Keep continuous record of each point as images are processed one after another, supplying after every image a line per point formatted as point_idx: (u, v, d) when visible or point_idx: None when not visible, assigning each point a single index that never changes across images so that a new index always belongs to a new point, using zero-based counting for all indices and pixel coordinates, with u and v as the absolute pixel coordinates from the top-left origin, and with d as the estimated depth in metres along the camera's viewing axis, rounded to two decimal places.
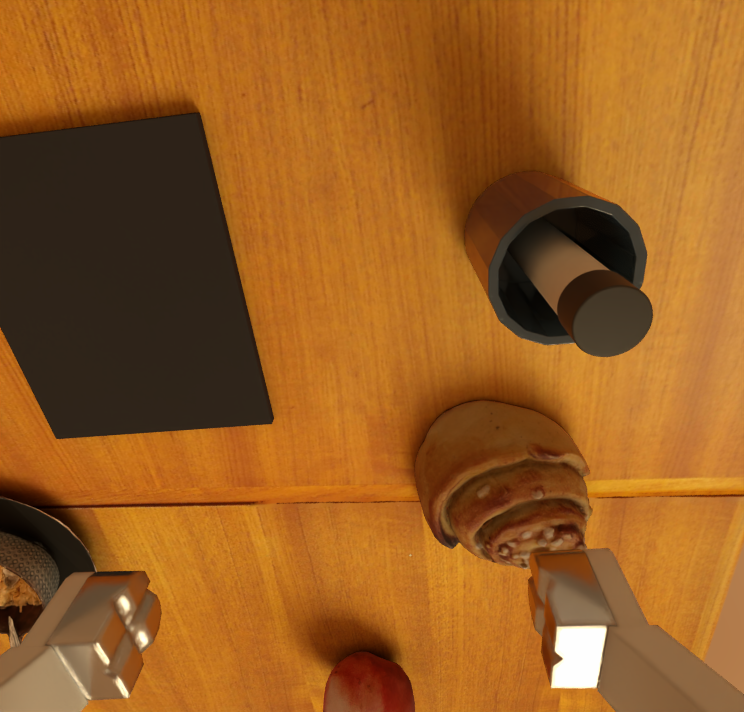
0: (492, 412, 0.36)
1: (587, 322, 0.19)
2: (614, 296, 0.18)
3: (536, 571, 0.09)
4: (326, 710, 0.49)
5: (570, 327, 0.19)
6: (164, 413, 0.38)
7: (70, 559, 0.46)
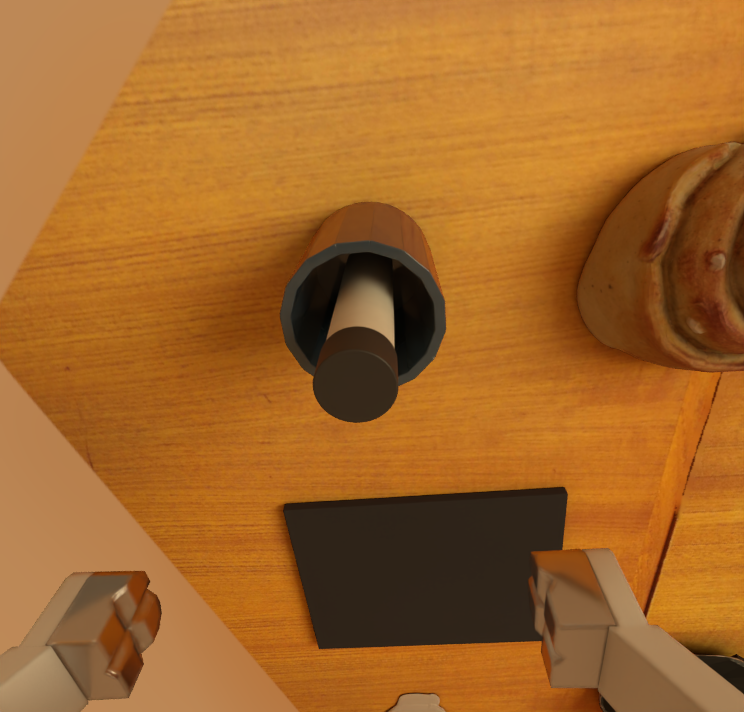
0: (591, 284, 0.29)
1: (355, 410, 0.18)
2: (324, 391, 0.17)
3: (536, 571, 0.09)
4: None
5: None
6: None
7: None
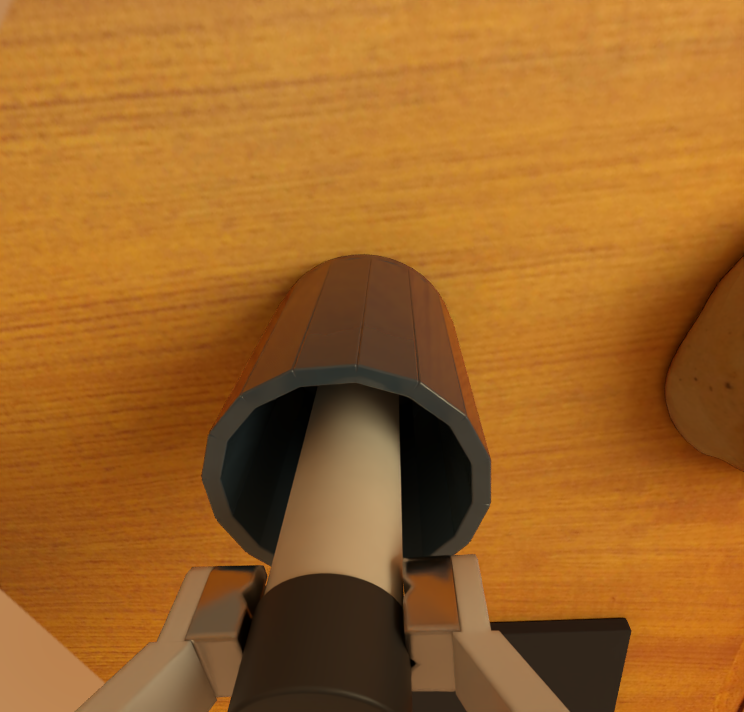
0: (694, 376, 0.19)
1: None
2: None
3: None
4: None
5: None
6: None
7: None
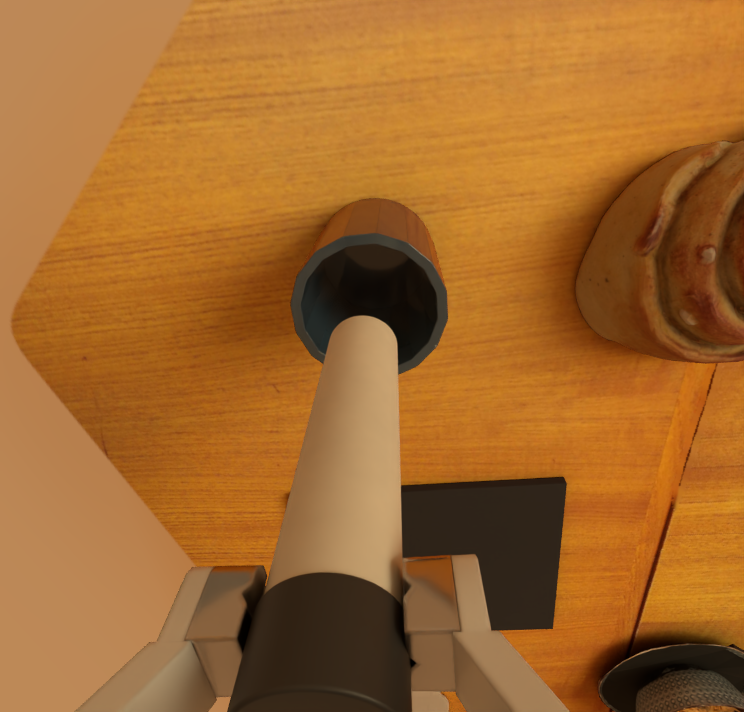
0: (589, 278, 0.30)
1: None
2: None
3: None
4: None
5: None
6: (539, 558, 0.42)
7: (695, 655, 0.47)
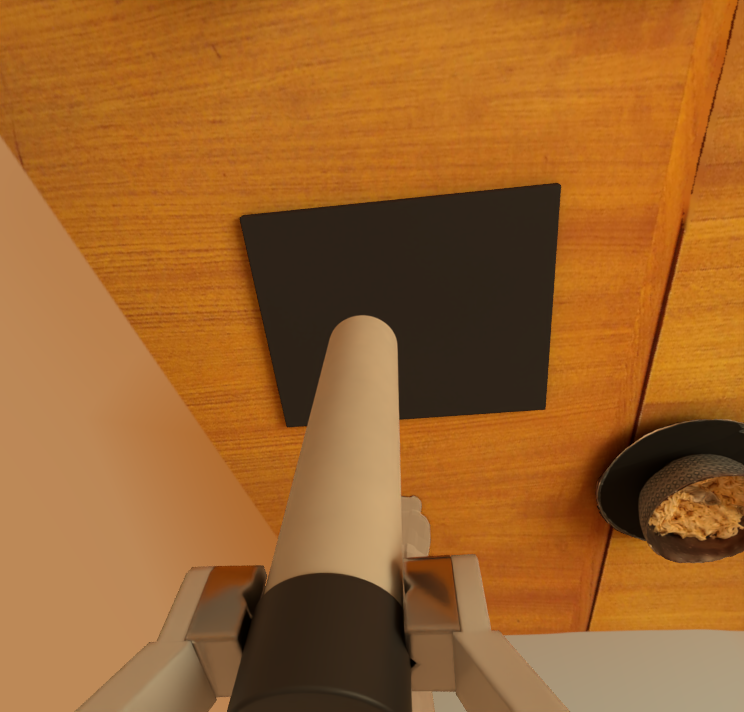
0: None
1: None
2: None
3: None
4: None
5: None
6: (529, 302, 0.36)
7: (706, 441, 0.41)
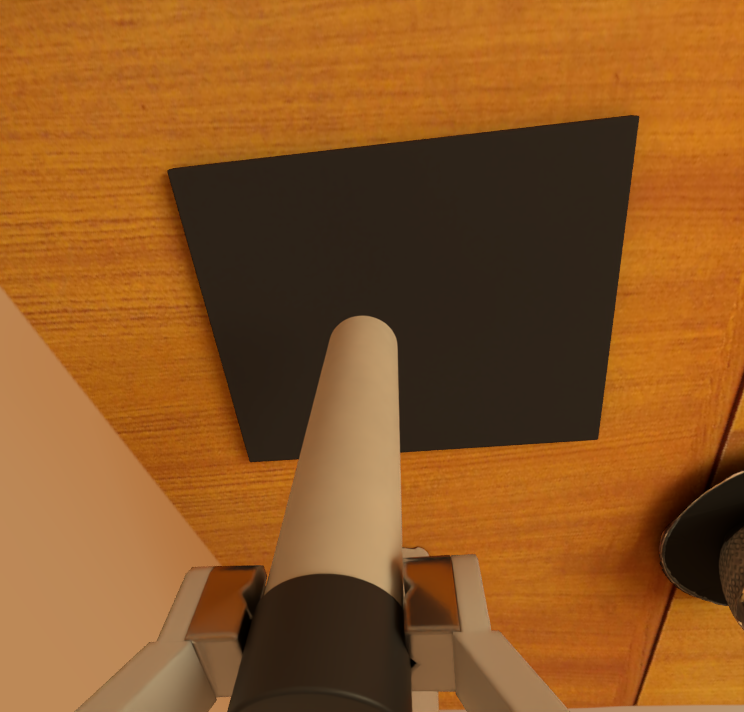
0: None
1: None
2: None
3: None
4: None
5: None
6: (583, 293, 0.26)
7: None
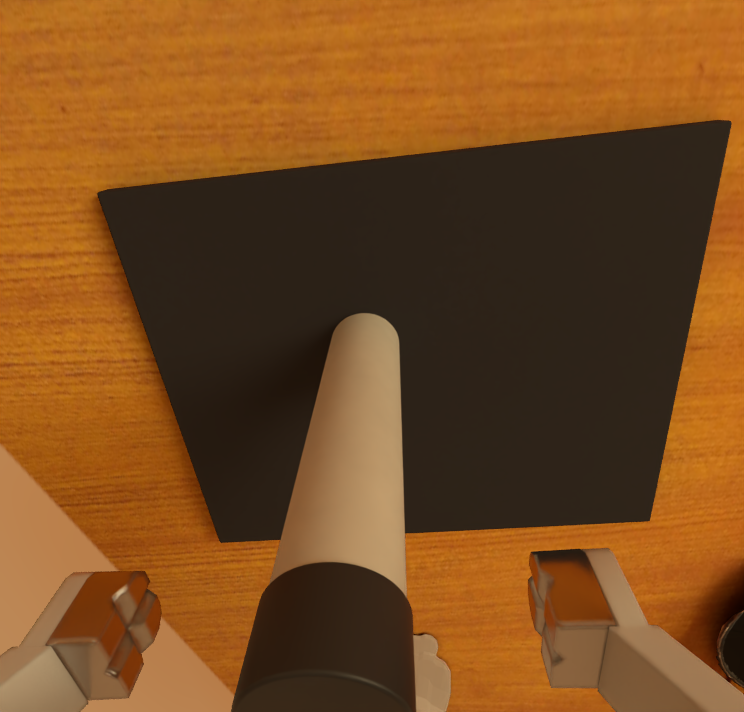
0: None
1: None
2: None
3: (536, 571, 0.09)
4: None
5: None
6: (642, 349, 0.20)
7: None
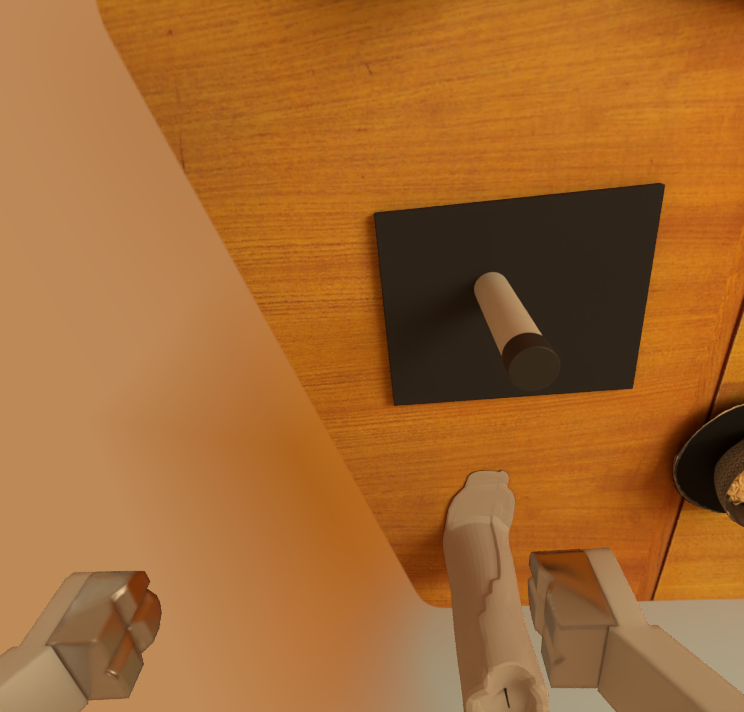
0: None
1: (531, 383, 0.29)
2: (515, 371, 0.29)
3: (536, 571, 0.09)
4: None
5: None
6: (627, 290, 0.41)
7: None
